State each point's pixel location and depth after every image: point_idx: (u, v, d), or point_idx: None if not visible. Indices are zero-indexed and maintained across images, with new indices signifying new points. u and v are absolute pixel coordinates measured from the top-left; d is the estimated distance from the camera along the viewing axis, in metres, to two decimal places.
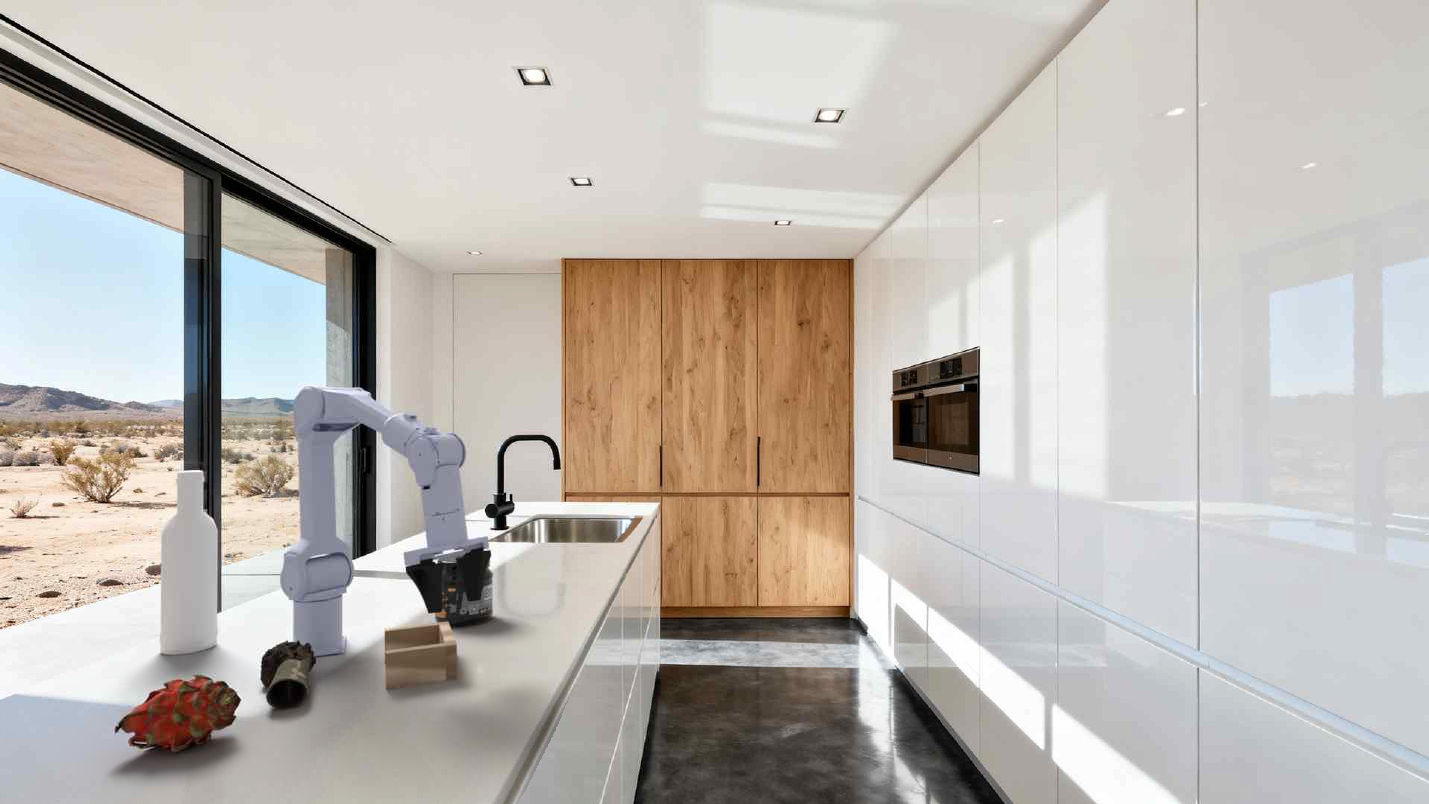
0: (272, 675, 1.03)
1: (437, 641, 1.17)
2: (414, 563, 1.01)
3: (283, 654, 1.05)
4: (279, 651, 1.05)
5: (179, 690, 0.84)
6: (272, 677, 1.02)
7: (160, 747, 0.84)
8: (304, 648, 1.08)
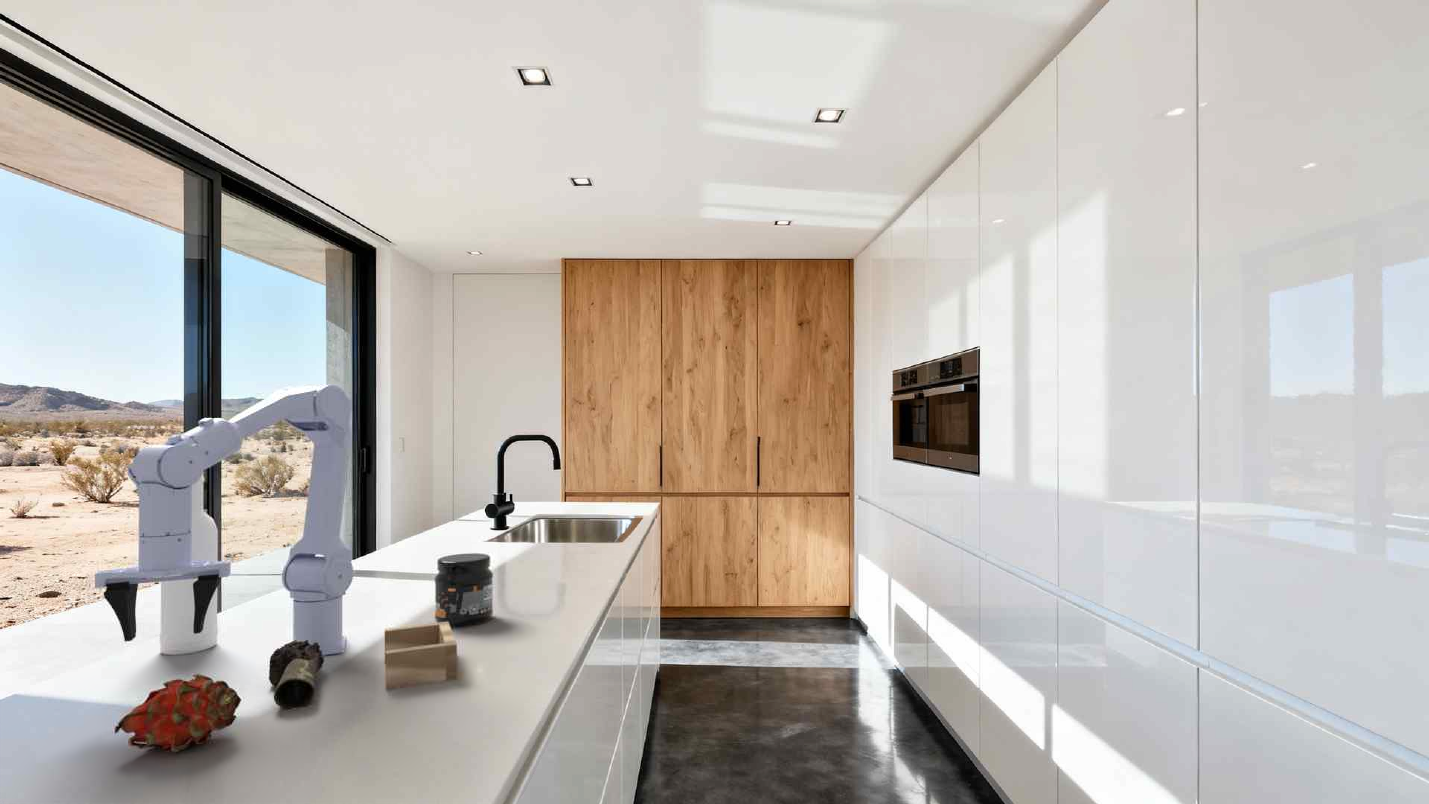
0: (280, 675, 1.03)
1: (437, 641, 1.17)
2: (95, 586, 0.94)
3: (291, 653, 1.05)
4: (287, 650, 1.05)
5: (179, 689, 0.84)
6: (280, 677, 1.03)
7: (160, 747, 0.84)
8: (312, 648, 1.08)
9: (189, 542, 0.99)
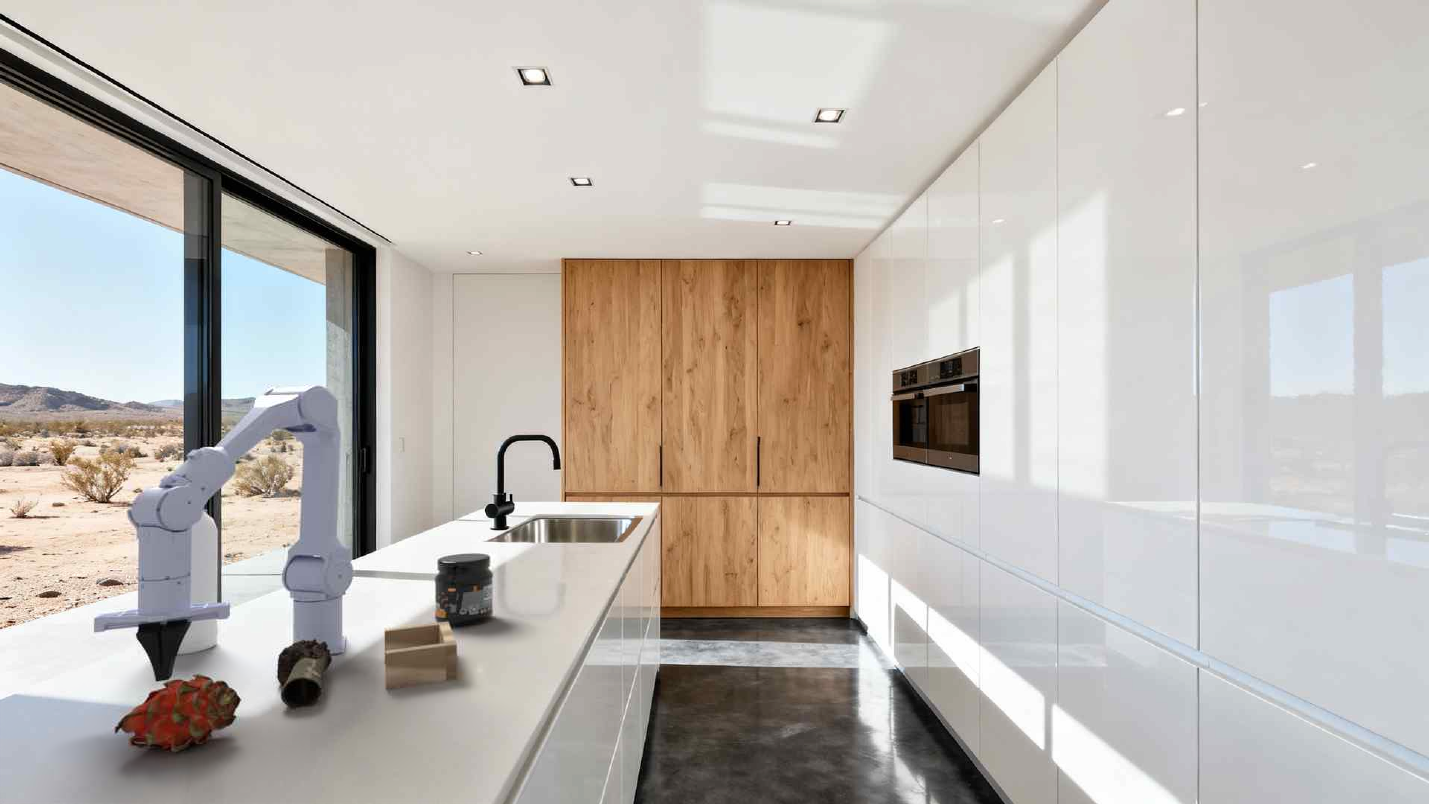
0: (288, 673, 1.03)
1: (437, 641, 1.17)
2: (94, 631, 0.94)
3: (299, 653, 1.06)
4: (295, 649, 1.06)
5: (178, 689, 0.84)
6: (288, 675, 1.03)
7: (160, 747, 0.84)
8: (320, 647, 1.08)
9: (188, 584, 0.99)
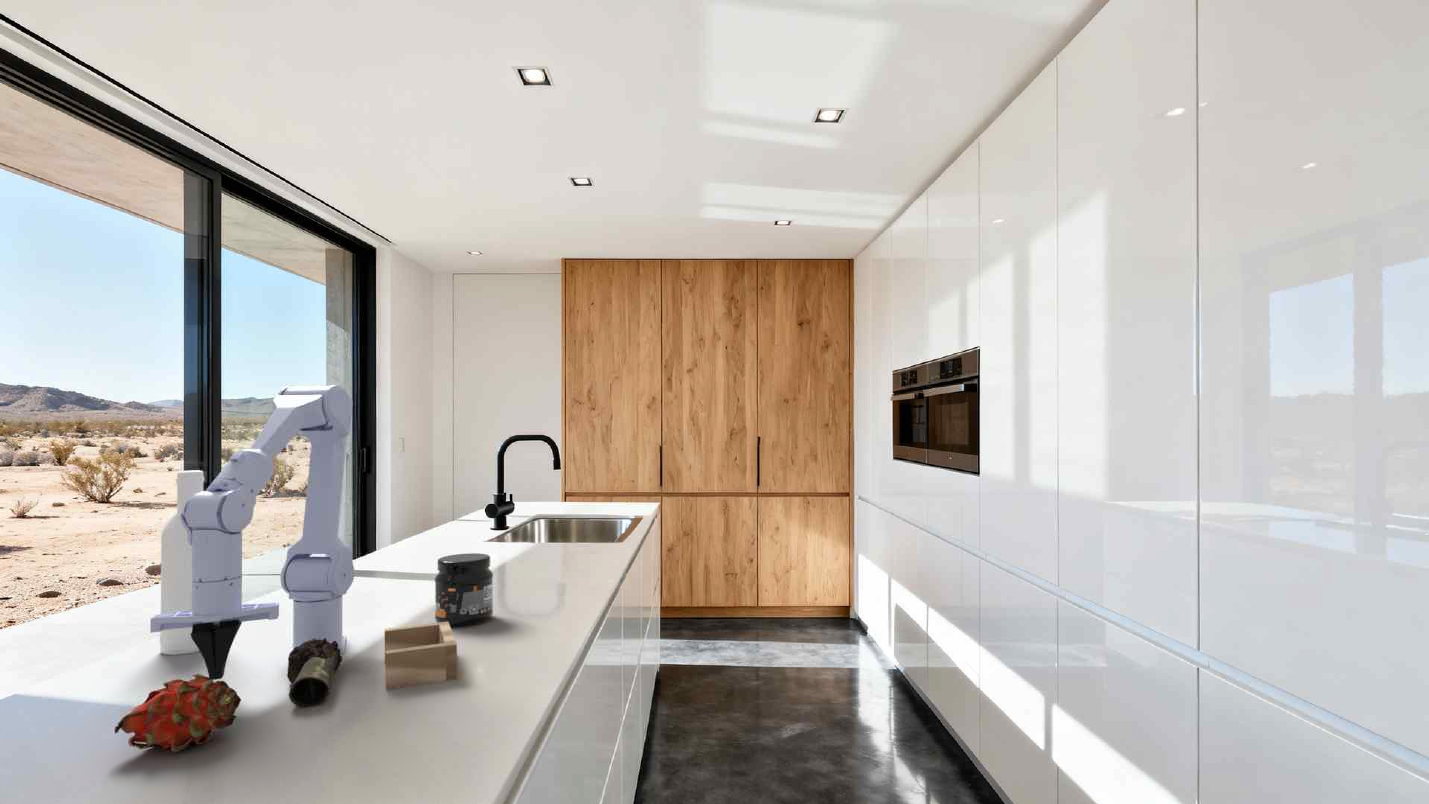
0: (298, 672, 1.04)
1: (437, 641, 1.17)
2: (150, 631, 0.96)
3: (309, 652, 1.06)
4: (305, 648, 1.06)
5: (178, 689, 0.84)
6: (298, 674, 1.04)
7: (160, 747, 0.84)
8: (330, 646, 1.09)
9: (240, 586, 1.01)
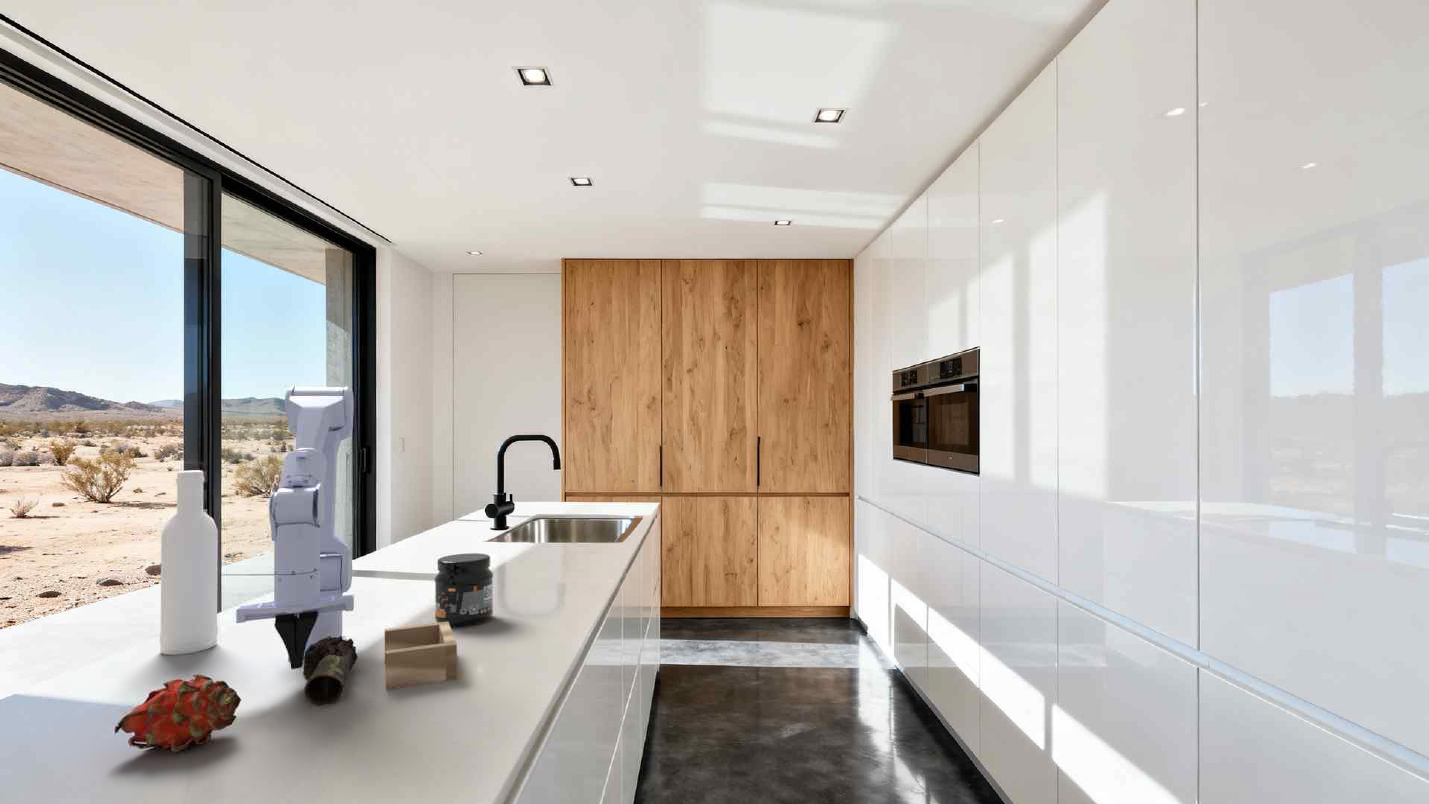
0: (313, 670, 1.04)
1: (437, 641, 1.17)
2: (236, 621, 1.00)
3: (324, 649, 1.07)
4: (321, 646, 1.07)
5: (178, 689, 0.84)
6: (313, 672, 1.04)
7: (160, 747, 0.84)
8: (345, 644, 1.09)
9: (318, 578, 1.05)
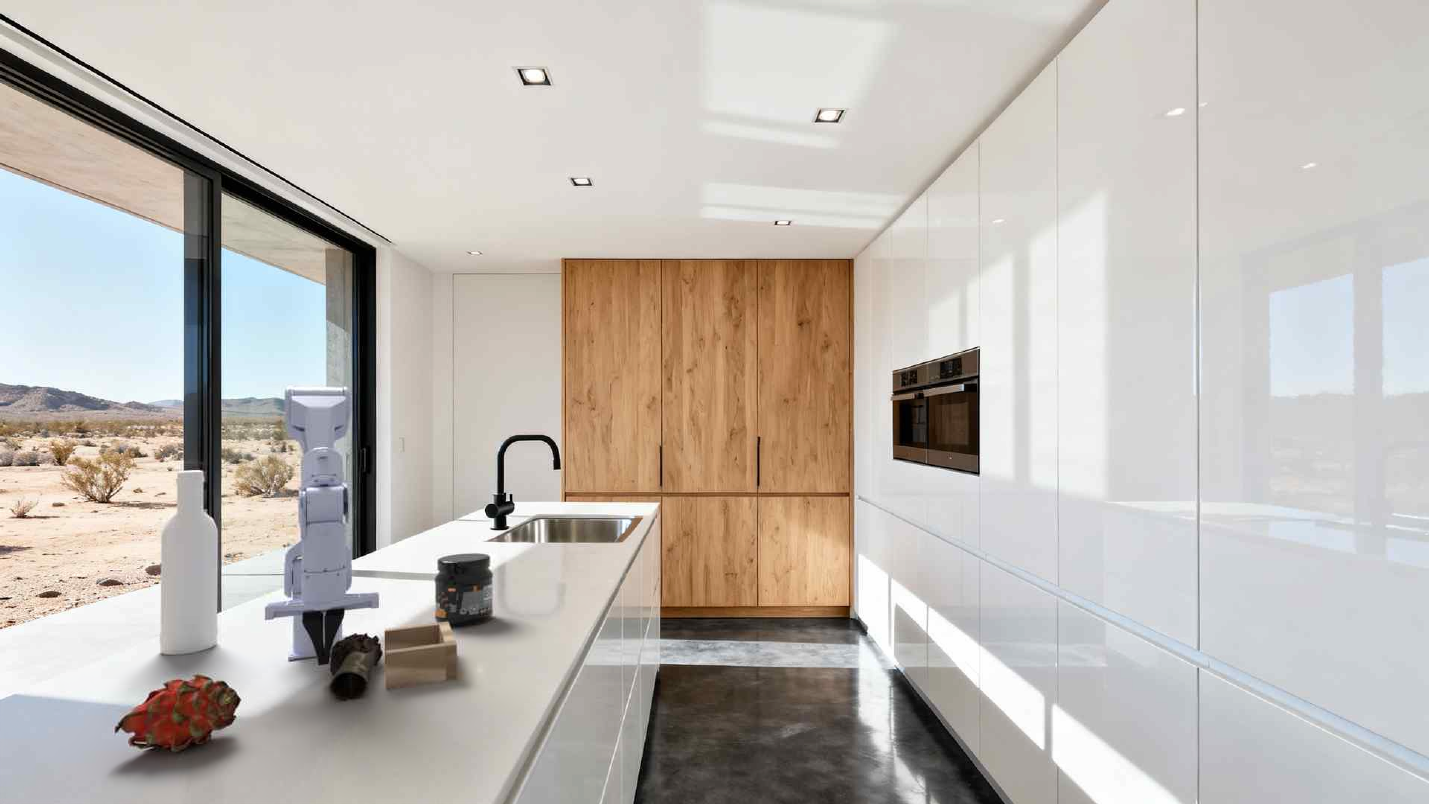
0: (339, 666, 1.06)
1: (437, 641, 1.17)
2: (265, 618, 1.02)
3: (350, 646, 1.08)
4: (347, 643, 1.08)
5: (179, 689, 0.84)
6: (339, 668, 1.06)
7: (160, 747, 0.84)
8: (371, 641, 1.11)
9: (345, 576, 1.06)
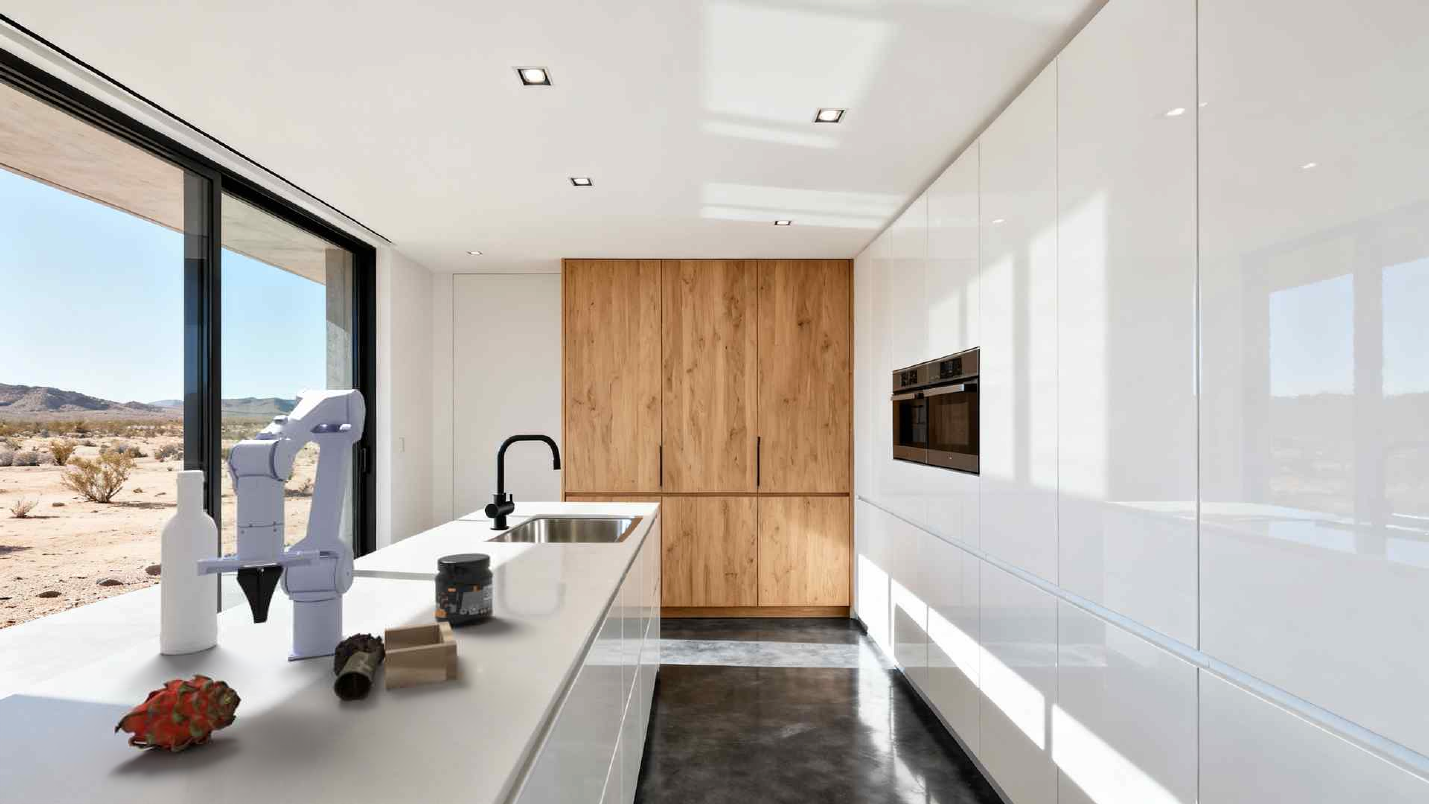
0: (343, 666, 1.06)
1: (437, 641, 1.17)
2: None
3: (354, 646, 1.08)
4: (350, 643, 1.08)
5: (179, 689, 0.84)
6: (343, 668, 1.06)
7: (160, 747, 0.85)
8: (374, 641, 1.11)
9: (283, 532, 1.03)
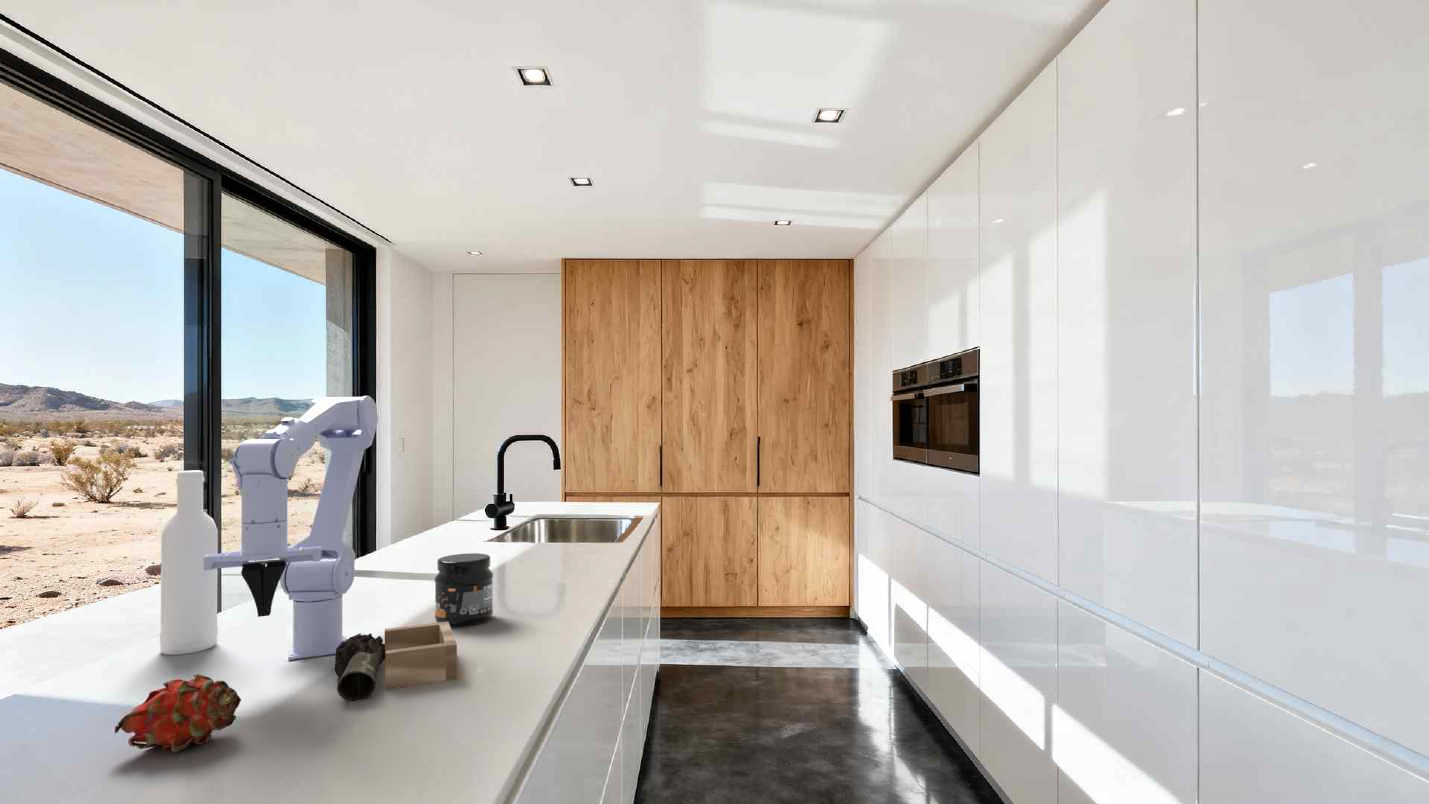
0: (345, 667, 1.06)
1: (437, 641, 1.17)
2: (204, 569, 1.02)
3: (355, 646, 1.08)
4: (352, 643, 1.08)
5: (179, 689, 0.84)
6: (345, 669, 1.06)
7: (160, 747, 0.85)
8: (375, 641, 1.11)
9: (286, 529, 1.07)
